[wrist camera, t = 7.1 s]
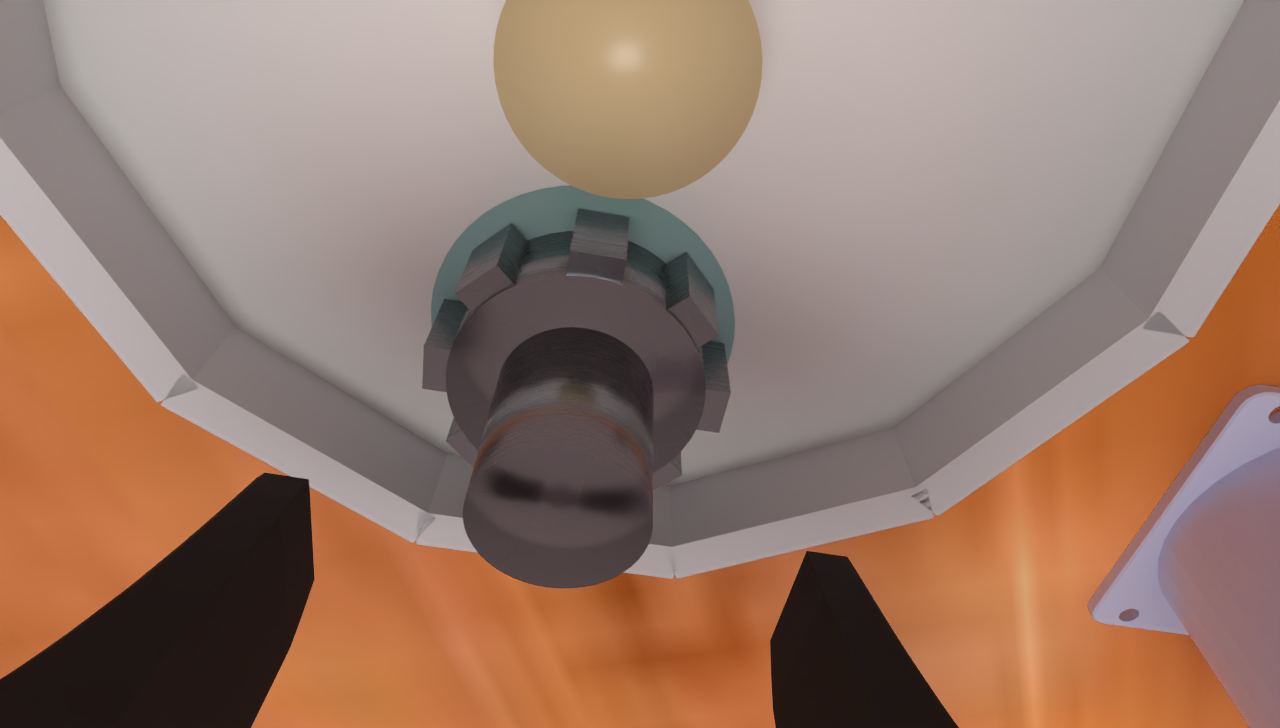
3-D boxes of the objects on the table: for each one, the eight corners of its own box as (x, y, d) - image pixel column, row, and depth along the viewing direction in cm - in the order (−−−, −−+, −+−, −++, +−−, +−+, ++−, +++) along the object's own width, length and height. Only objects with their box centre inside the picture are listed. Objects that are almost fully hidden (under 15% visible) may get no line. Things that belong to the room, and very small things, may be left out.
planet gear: (752, 236, 16) (790, 402, 12) (690, 463, 20) (701, 662, 15) (451, 185, 16) (367, 338, 11) (438, 426, 19) (370, 621, 15)
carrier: (1782, -817, 10) (2178, -1040, 7) (984, 559, 22) (1026, 654, 20) (-384, -1504, 8) (-887, -2138, 5) (84, 431, 20) (4, 519, 18)
